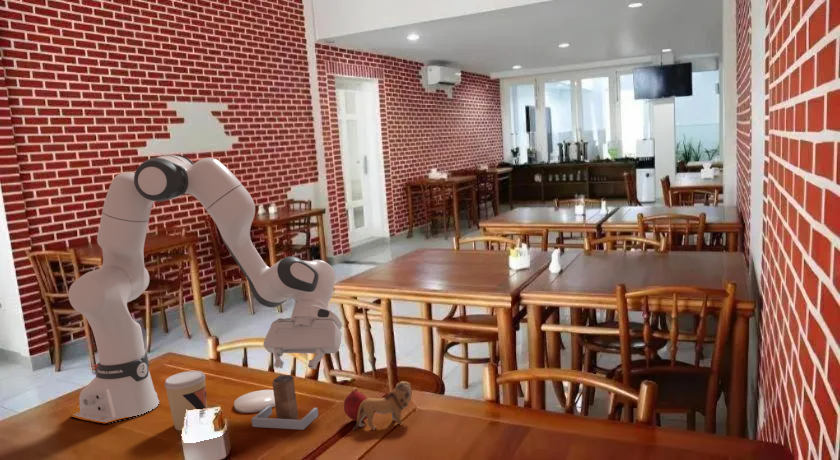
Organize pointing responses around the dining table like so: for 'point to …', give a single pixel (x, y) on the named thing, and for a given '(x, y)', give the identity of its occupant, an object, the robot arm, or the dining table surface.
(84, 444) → the dining table surface
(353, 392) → the onion
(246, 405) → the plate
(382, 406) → the lion figurine
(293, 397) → the brown rectangular block
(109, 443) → the dining table surface
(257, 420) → the grey u-shaped bracket
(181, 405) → the coffee cup
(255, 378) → the dining table surface
